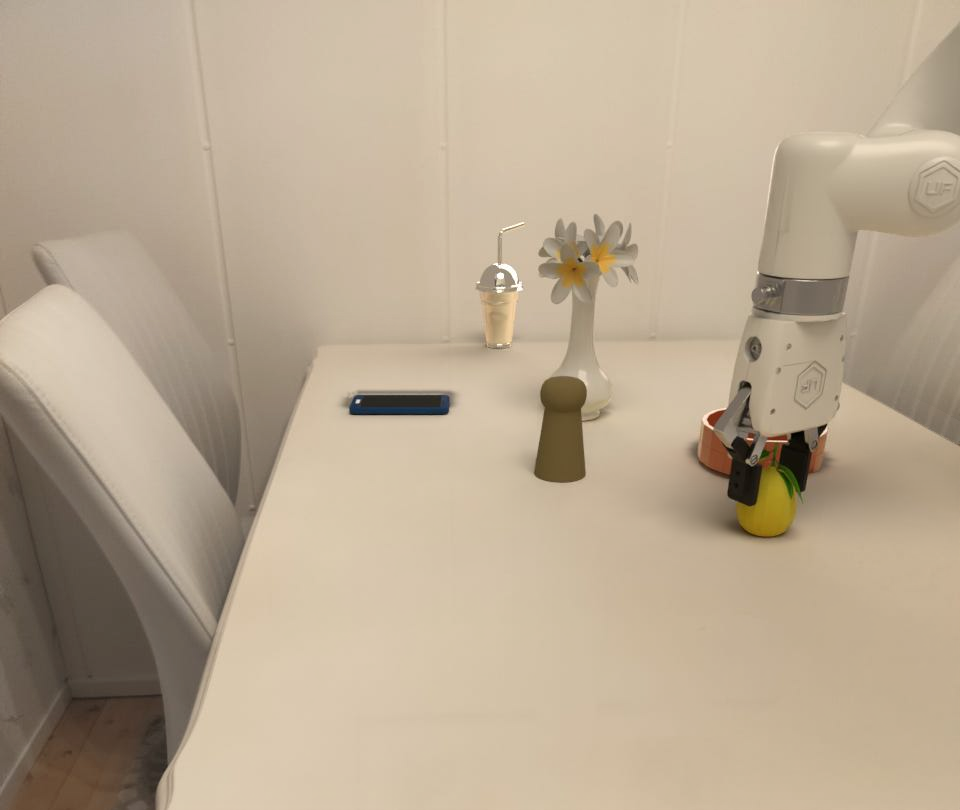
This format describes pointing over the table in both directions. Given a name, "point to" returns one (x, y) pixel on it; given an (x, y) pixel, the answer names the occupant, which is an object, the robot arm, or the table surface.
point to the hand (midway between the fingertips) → (766, 493)
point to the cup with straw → (499, 298)
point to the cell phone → (400, 404)
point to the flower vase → (586, 296)
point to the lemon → (771, 501)
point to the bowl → (717, 455)
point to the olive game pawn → (561, 430)
